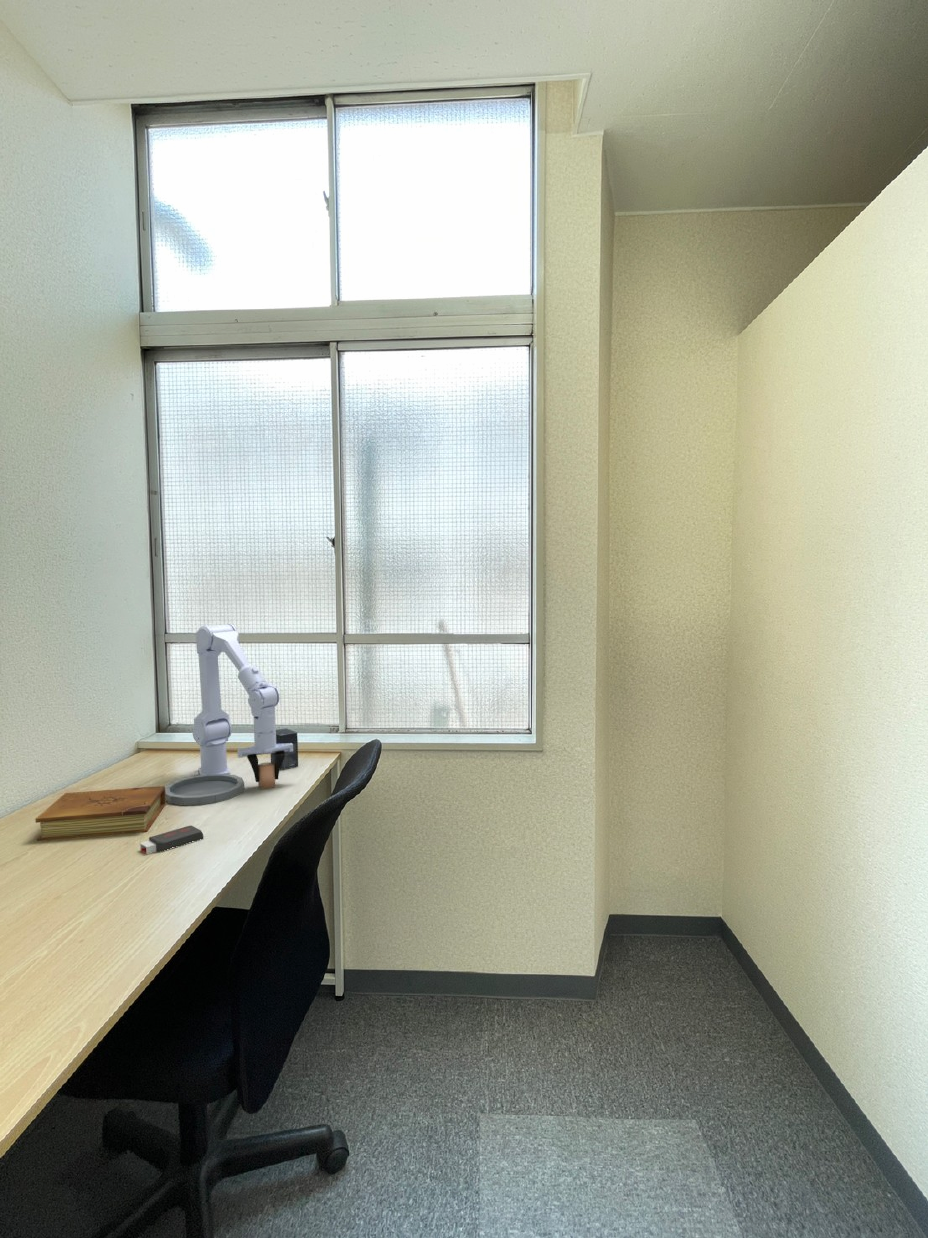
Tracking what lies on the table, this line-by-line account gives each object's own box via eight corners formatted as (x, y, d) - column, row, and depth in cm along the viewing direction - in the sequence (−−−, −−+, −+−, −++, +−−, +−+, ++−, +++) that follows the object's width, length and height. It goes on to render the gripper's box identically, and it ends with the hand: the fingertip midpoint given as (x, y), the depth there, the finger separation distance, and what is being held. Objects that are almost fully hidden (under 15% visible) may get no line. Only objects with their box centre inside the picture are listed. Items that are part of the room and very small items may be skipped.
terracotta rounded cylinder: (257, 784, 191) (256, 763, 190) (273, 782, 193) (273, 761, 192) (259, 789, 187) (258, 767, 186) (276, 787, 189) (275, 765, 188)
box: (298, 766, 208) (297, 732, 207) (281, 770, 205) (280, 735, 204) (287, 761, 214) (286, 727, 213) (270, 764, 211) (269, 730, 210)
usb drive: (203, 840, 153) (203, 828, 153) (149, 857, 144) (148, 844, 144) (192, 834, 157) (192, 822, 156) (138, 850, 148) (138, 838, 148)
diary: (166, 807, 176) (165, 784, 175) (147, 834, 158) (146, 810, 157) (67, 813, 171) (66, 791, 171) (36, 843, 153) (35, 817, 153)
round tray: (163, 787, 190) (162, 780, 190) (238, 777, 198) (238, 770, 198) (164, 810, 172) (164, 802, 172) (248, 797, 180) (247, 790, 180)
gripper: (239, 737, 182) (241, 787, 183) (294, 731, 188) (296, 780, 189) (235, 731, 188) (237, 780, 189) (289, 726, 194) (291, 773, 195)
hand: (266, 779), depth 190 cm, fingers closed on terracotta rounded cylinder, 4 cm apart
